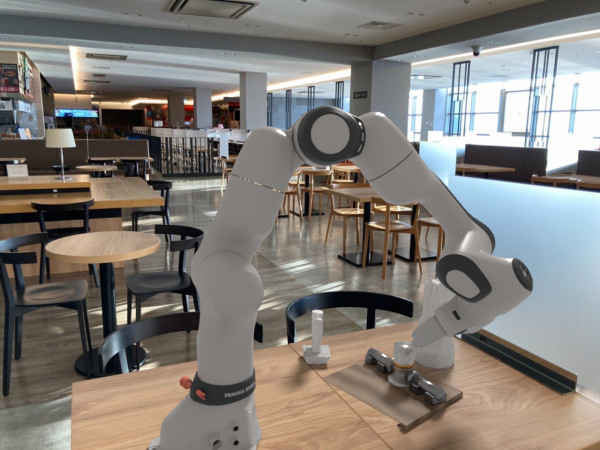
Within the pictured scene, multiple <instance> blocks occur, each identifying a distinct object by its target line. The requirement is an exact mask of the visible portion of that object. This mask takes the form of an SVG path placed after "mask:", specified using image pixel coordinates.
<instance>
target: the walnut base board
mask: <svg viewBox="0 0 600 450" xmlns="http://www.w3.org/2000/svg"><path fill="white" fill-rule="evenodd" d="M413 371H417V372H419V373H420V374H421V377H423V378H425V379H426V380H428V381H430V382H431V383H433V384H435V385H437V386H438V387H440V388H442V389H443V390H445V392H447V397H446V401H445V402H443V403H440V404H437V405H435V406H431V405H430V404H428V403H427V402H425V393H424V394H421V395H418V396H416V395H414V394H413V393H411V392H410V391H409V390H410V385H408V384H399V383H397V382H395V381H394V380H393V379H392V375H393V373H385V374H382V373H380V372H379V371H377V364H376V365H373V366H370V365H368V364H367V363H365V359H364V360H361V361H359V362H357V363H354V364H351V365H349V366H347V367H345V368H342V369H339V370H338V371H334V372H333V373H330V374H327V375H326V376H324V377H321V379H322V380H323V381H326V382H327V383H328V384H331V385H332V386H334V387H336V388H338V389H339V390H341V391H342V392H345V393H346V394H348V395H350V396H352V397H354V398H356V399H357V400H358V401H361V402H363V403H365V404H366V405H368V406H370V407H372V408H373V409H375V410H377V411H379V412H380V413H382V414H384V415H385V416H387V417H389V418H391V419H393V420H395V421H396V422H398V424H396V427H398V428H400V429H401V430H404V431H408V430H411V429H412V428H413V427H415V426H416V425H418V424H420V423H421V422H423V421H425V420H426V419H427V418H429V417H431V416H432V415H435V414H436V413H437V412H439V411H441V410H443V409H444V408H446V407H447V406H448V405H451V404H452V403H454V402H455V401H457V400H459V399H460V398H462V397H463V393H464V392H463V390H461V389H458V388H456V387H454V386H452V385H450V384H447V383H445V382H444V381H441V380H439V379H436V378H434V377H432V376H430V375H427V374H425V373H423V372H421V371H419V370H416V369H413Z"/></svg>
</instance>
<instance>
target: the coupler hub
mask: <svg viewBox="0 0 600 450" xmlns="http://www.w3.org/2000/svg"><path fill="white" fill-rule="evenodd" d="M414 352H415V348H414V347H413V346H412V344H411V342H410V341H405V340H398V341H395V342H394V344H393V356H392V358H393V375H392V379H393V380H394V381H395V382H397V383H399V384H408V383H407V378H408V375H409V374H410V373H411V372H412V371H413V369H414V366H415V359H414ZM414 370H415V369H414Z"/></svg>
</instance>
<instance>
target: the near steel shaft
mask: <svg viewBox="0 0 600 450" xmlns="http://www.w3.org/2000/svg"><path fill="white" fill-rule="evenodd" d="M417 371H418V370H416V371H412V372H411V373H410V374H409V375H408V378H407V383H408V385H410V390H409V391H410V392H411V393H413V394H414V395H416V396H418V395H421V394H424V393H425V402H427V403H428V404H430V405H431V406H435V405H437V404H440V403H443V402H445V401H446V397H447V392H445V390H443V389H442V388H440V387H438V386H437V385H435V384H433V383H431V382H430V381H428V380H426V379H425V378H423V377H421V374H420V373H419V372H420V371H419V372H417Z"/></svg>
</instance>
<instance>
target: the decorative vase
mask: <svg viewBox="0 0 600 450" xmlns="http://www.w3.org/2000/svg"><path fill="white" fill-rule="evenodd" d="M423 285H424V287H423V300H422V301H423V302H422V314H421V315H420V317H419V318H418V320H417V327H418V326H419V325H420V324H422V323H423V322H424V321H425V320H426V319H428V318H429V317H430V316H431V315H433V314H434V312H433V311H434V310H435V309H436V308H437V307H439V306H441V305H442V304H444V303H446V302H447V301H448V300H449V299H450V298H451V297H452V296H454V295H455V294H454V293H453V292H451V291H450V290H449V289H447V288H446V287H445V286H444V285H443V284H442V283H441V282H440V281H439V279H438V277H437V278H435V279H433V277H430V278H428V279H425V282H424V284H423ZM455 352H456V344H455V339H454V336H452V337H449V336H447V337H445V338H442V339H440V340H438V341H435V342H433V343H431V344H429V345H427V346H424V347H417V348H415V352H414V362H416V363H417V364H419V365H421V366H423V367H425V368H430V369H437V370H441V369H442V370H443V369H448V368H451V367H452V366H453V365H454V364H455V356H456V355H455V354H456V353H455Z"/></svg>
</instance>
